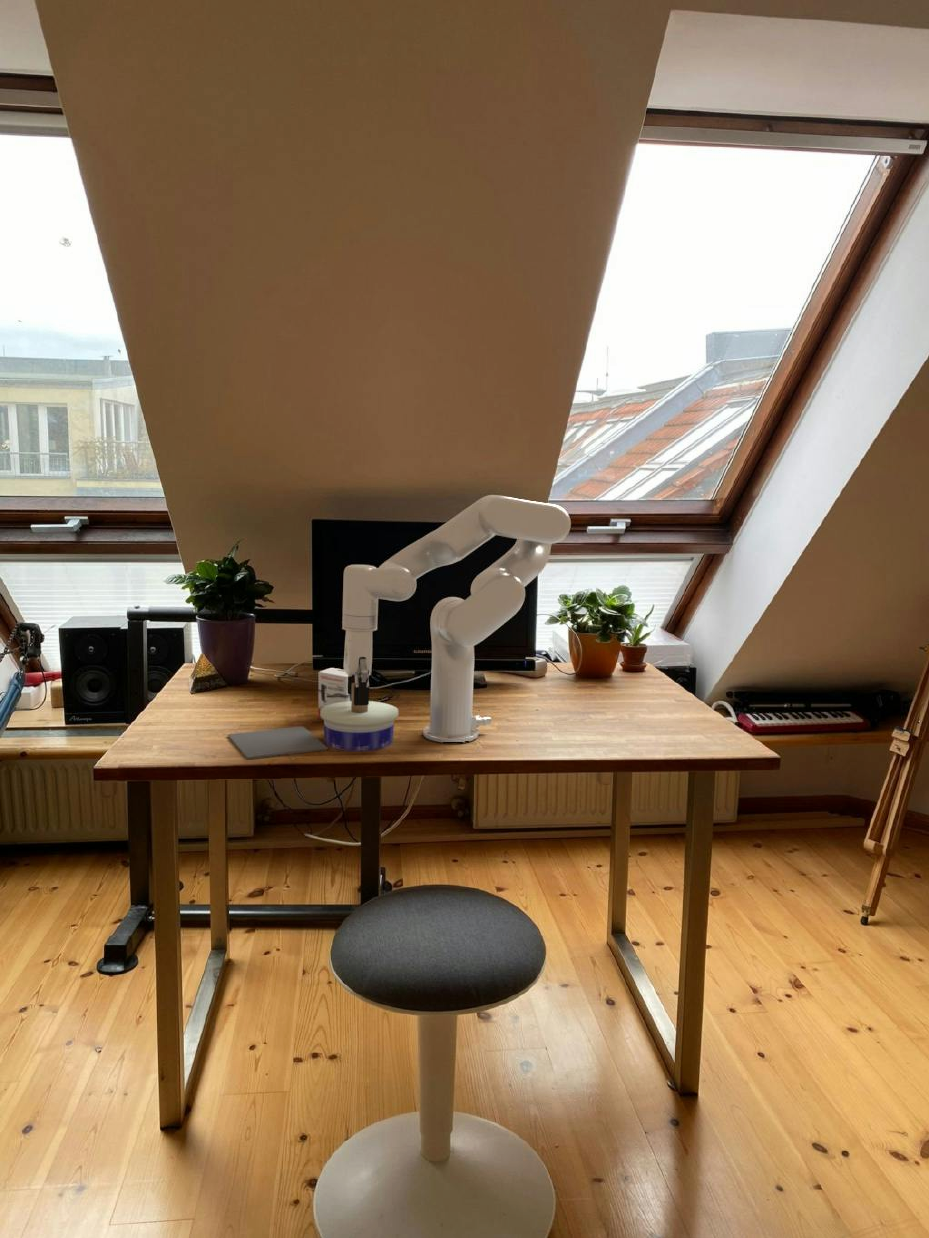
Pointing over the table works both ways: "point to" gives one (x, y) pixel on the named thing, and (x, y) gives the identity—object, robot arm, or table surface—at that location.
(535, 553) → the robot arm
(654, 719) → the table surface
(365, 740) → the dog bowl
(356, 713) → the lid
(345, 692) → the ink box
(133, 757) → the table surface
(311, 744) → the mat
